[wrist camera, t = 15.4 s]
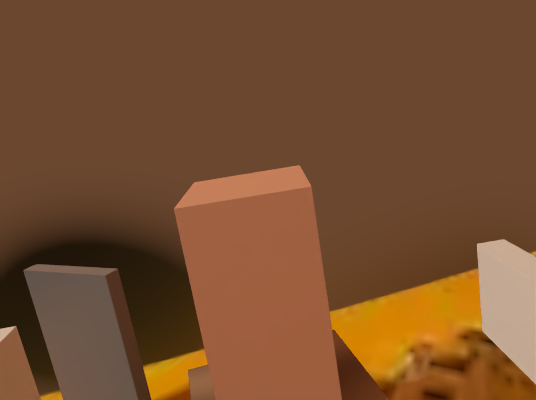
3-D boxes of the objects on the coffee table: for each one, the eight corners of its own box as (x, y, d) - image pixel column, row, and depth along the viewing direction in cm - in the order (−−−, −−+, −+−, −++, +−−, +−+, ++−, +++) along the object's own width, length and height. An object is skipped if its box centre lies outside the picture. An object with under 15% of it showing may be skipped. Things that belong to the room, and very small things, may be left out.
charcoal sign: (186, 432, 33) (143, 254, 29) (149, 476, 29) (96, 280, 26) (109, 411, 36) (63, 251, 33) (68, 447, 33) (13, 274, 30)
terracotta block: (345, 423, 22) (311, 186, 19) (224, 441, 22) (174, 209, 19) (327, 353, 28) (299, 165, 25) (232, 368, 28) (194, 182, 25)
